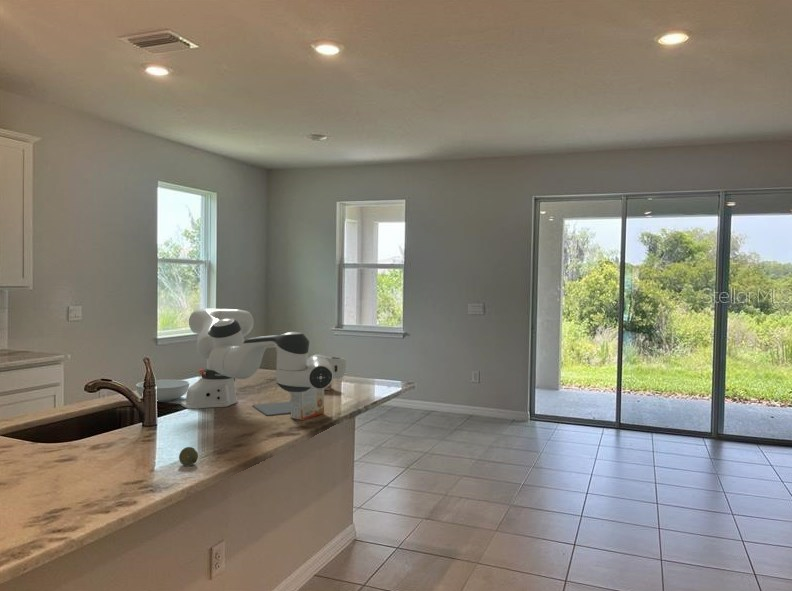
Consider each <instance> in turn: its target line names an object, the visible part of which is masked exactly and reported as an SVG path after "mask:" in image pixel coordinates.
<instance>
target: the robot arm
mask: <svg viewBox="0 0 792 591" xmlns="http://www.w3.org/2000/svg"><path fill="white" fill-rule="evenodd" d="M254 321H255V320H254V317H253V315H252V313H251V312H249V311H248V310H244V309H238V308H235V309H234V308H201V309H196V310H195V309H194V311H193V312H191V314H190V315H189V318H188V326H189V329H190V331H192V333H193V334H196V335H198V336H197V340H196V351H197V353H198V355H199V357H201V358H203V359H206V368H205V369H203V368H200V369H198V373H199V375H201V378H200V379H198V380H197V381H196V382H194V384H192V385H191V386H189V387H188V390H187V392H186V397H185V398H183V399H182V400H180V406H182V407H184V408H187V409H204V408H224V407H225V408H226V407H229V406H231V405H234V404H237V403H238V402H239V401H238V398H237V393H236V391H237V390H236V385H235V382H236V380H237V379H238V380H247V379H249V378H251V377H252V376H254V375H255V374H256V373H257V372H258V370H259V369H260V367H261V364H262V360H263V357H264V354H265V353H266V350H267V349H268V348H275V350H276V368H275V370H276V372H275V383H276V384H277V386H278V387H279V388H281V389H282V390H284V391H285V392H290V393H291V392H304V391H307V390H308V389H310V388H311V387H312V388H315V389H323V388H326V387H327V386H329V385H330V384H331V383H333V382H332V381H333V379H339V378H344V375H345V373H346V372H347V359H346V358H343V357H334V356H332V357H331V356H328V355H323V354H319V353H318V354H314V355H311V356H309V354H308V353H309V347H310V340H309V339H308V338H307V336H306V335H305V334H304V333H302V332H300V331H299V332H298V331H288V332H285V333H282V334H274V335H264V336H262V335H261V336H256V337H249V338H246V339H245V338H244V337H246V336H247V335H248V334H249V333H250V332H251V331H252V330H253V327H254V325H255V324H254ZM308 356H309V357H308ZM331 385H332V384H331Z"/></svg>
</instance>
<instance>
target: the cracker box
mask: <svg viewBox="0 0 792 591" xmlns="http://www.w3.org/2000/svg"><path fill="white" fill-rule="evenodd" d="M290 402H291V414H289V415H290V416H289V417H290V419H292V418H293V420H298V421H303V420H306V419H310V418H312V417H317V416H319V415H322V414H324V413H325V391H324V388H323V389H315V388H312V387H311V388H310V389H308V390H307V391H304V392H290Z"/></svg>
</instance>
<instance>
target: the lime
mask: <svg viewBox="0 0 792 591" xmlns="http://www.w3.org/2000/svg"><path fill="white" fill-rule="evenodd" d="M178 459H179V462H180V464H181V465H183V466H185V467H188V466H192V465H194V464H196V463H197V460H198V459H199V455H198V452H197V450H196V449H195V448H194V447H193V446H187V447H185V448H183V449H182V450H180V452H179V455H178Z"/></svg>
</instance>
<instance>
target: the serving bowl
mask: <svg viewBox="0 0 792 591" xmlns="http://www.w3.org/2000/svg"><path fill="white" fill-rule="evenodd" d="M155 380H156V385H157V400H158V402H160V403H161V402H162V403H163V402H170V401H174V400H176V399H178V398H181V397H183V396H184V395H185V394H187V392H188V389H189V388H190V382H189V381H188V380H184V379H155ZM144 382H145V381H141V382H138V383H136V384H135V389H136V392H137V394H138V395H139V397H141V398H142V393H143V383H144Z"/></svg>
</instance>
